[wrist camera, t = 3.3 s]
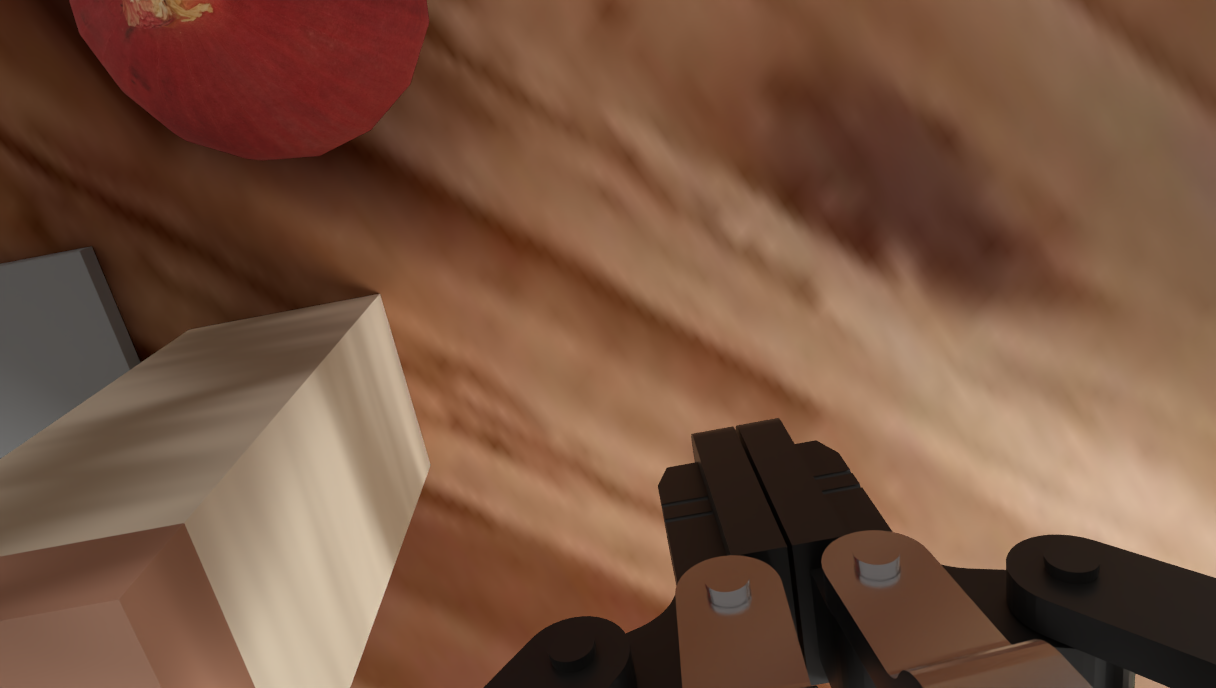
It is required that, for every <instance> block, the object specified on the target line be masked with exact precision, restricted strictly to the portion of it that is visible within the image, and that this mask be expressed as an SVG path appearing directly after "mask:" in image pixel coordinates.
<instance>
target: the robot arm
mask: <svg viewBox="0 0 1216 688" xmlns="http://www.w3.org/2000/svg"><path fill="white" fill-rule="evenodd" d="M691 438H692V446H693V453H694V459H695V463H690V464H685V465H679V466H674V467H668V468H667V469H666V471H665V473H664V475H663V477H662V479H661V481H660V483H659V485H658V489H659V495H660V500H661V506H662V511H663V517H664V522H665V528H666V533H667V539H668V544H669V550H670V555H671V560H672V566H673V571H674V576H675V581H676V586H677V587H676V592H675V596H674V599H673V600H672V602H671V604H670V605H669V606H668V608H667V609H666V610H665V611H664V612H663V613H662V614H661V615H659V616H658V617H657V618H655V619H654V620H652V621H651V622H649V623H647V624H646V625H644V626H642V627H640V628H637V629H635V630H633V631H630V632H628V633H626V634H625V632H624V631H623V630H622V629H621V628H620V627H619V626H618V625H616V624H615V623H613V622H611V621H609V620H607V619H603V618H599V617H591V616H582V617H574V618H569V619H565V620H562V621H559V622H557V623H554V624H552V625H550V626H548V627H546V628H545V629H543V630H542V631H540V632H539V633H538V634H536V635H535V636H534V637H533V638H532V639H531V640H530V641H529V642H528V643H527V644H526V645H525V646H524V647H523V648H522V649H521V650H520V651H519V652H518V653H517V654H516V655H515V656H514V657H513V658H512V659H511V660H510V661H509V662H508V663H507V664H506V665H505V666H504V667H503V668H502V669H501V670H500V671H499V672H498V673H497V674H496V675H495V677H494V678H493V679H492V680H491V681H490V682H489V683H488V684H487V685H486V686H485V687H484V688H818V687H817V686H812V685H817V684H823V683H830V686H831V688H1134V686H1135V673H1136V674H1138V675H1141V676H1143V677H1145V678H1148V679H1150V680H1153V681H1155V682H1158V683H1160V684H1163V685H1165V686H1167V687H1170V688H1216V578H1214V577H1210V576H1207V575H1204V574H1201V573H1197V572H1194V571H1191V570H1188V569H1185V568H1181V567H1178V566H1175V565H1172V564H1168V563H1165V562H1162V561H1159V560H1155V559H1152V558H1149V557H1146V556H1143V555H1139V554H1136V553H1133V552H1130V551H1126V550H1123V549H1120V548H1117V547H1113V546H1110V545H1107V544H1104V543H1101V542H1097V541H1094V540H1090V539H1087V538H1082V537H1077V536H1070V535H1043V536H1037V537H1032V538H1029V539H1026V540H1024V541H1022V542H1020V543H1018V544H1016V545H1015V546H1014V547H1013V548H1012V549H1011V550H1010V552H1009V553H1008V555H1007V559H1006V570H993V569H967V568H956V567H950V566H945V565H941V564H940V563H939V562H938V561H937V560H936V559H935V557H934V556H933V555H932V554H931V553H930V552H929V551H928V550H927V549H926V548H925V547H924V546H923V545H922V544H920V543H919V542H917V541H916V540H914V539H912V538H910V537H908V536H905V535H902V534H899V533H894V532H892V530H891V529H890V527H889V526H888V524H887V523H886V522H885V520H884V519H883V517H882V516H881V514H880V513H879V511H878V510H877V508H876V507H875V505H874V504H873V503H872V501H871V500H870V498H869V497H868V495H867V494H866V492H865V491H864V489H863V488H861V487H860V484H859V482H858V481H857V479H856V478H855V476H854V475H853V473H851V472H850V469H849V467H848V466H847V465H846V463H845V462H844V460H843V459H842V457H841V456H840V454H839V453H838V452H836V451H834V450H832V449H831V448H829V447H827V446H825V445H823V444H822V443H820V442H818V441H810V442H805V443H799V444H794V442H793V441H792V439H791V437H790V436H789V434H788V432H787V430H786V429H785V427H784V425H783V424H782V422H781V420H780V419H779V418H776V419H770V420H765V421H759V422H754V423H749V424H743V425H738V426H736V430H735V428H734V427H727V428H722V429H716V430H711V431H706V432H700V433H695V434H691Z"/></svg>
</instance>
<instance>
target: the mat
mask: <svg viewBox="0 0 1216 688" xmlns="http://www.w3.org/2000/svg"><path fill="white" fill-rule="evenodd" d="M138 364H140V360H139V358H138V356H137V353H136V351H135V348H134V346H133V344H132V341H131V339H130V336H129V334H128V332H127V329H126V327H125V325H124V322H123V320H122V317H121V315H120V313H119V310H118V308H117V305H116V303H115V301H114V298H113V296H112V294H111V291H110V289H109V286H108V284H107V282H106V279H105V277H104V274H103V272H102V270H101V267H100V265H99V263H98V260H97V258H96V255H95V253H94V251H93V248H92V246H91V247H86V248H80V249H75V250H70V251H65V252H59V253H54V254H49V255H44V256H39V257H33V258H28V259H23V260H18V261H13V262H7V263H2V264H0V459H1V458H2V457H4V456H5V455H7V454H8V453H10V452H11V451H13V450H14V449H16V448H17V447H18V446H20V445H21V444H23V443H24V442H26V441H27V440H29V439H30V438H32V437H33V436H34V435H36V434H37V433H39V432H40V431H42V430H43V429H45V428H46V427H48V426H49V425H51V424H52V423H53V422H55V421H56V420H58V419H59V418H61V417H62V416H64V415H65V414H67V413H68V412H70V411H71V410H72V409H74V408H75V407H77V406H78V405H80V404H81V403H83V402H84V401H86V400H87V399H88V398H90V397H91V396H93V395H94V394H96V393H97V392H99V391H100V390H102V389H103V388H105V387H106V386H107V385H109V384H110V383H112V382H113V381H115V380H116V379H118V378H119V377H121V376H122V375H123V374H125V373H126V372H128V371H129V370H131V369H132V368H134V367H135V366H137V365H138Z"/></svg>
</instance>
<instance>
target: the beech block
mask: <svg viewBox="0 0 1216 688" xmlns="http://www.w3.org/2000/svg"><path fill="white" fill-rule="evenodd" d="M429 468H430V462H429V458H428V455H427V451H426V448H425V445H424V441H423V438H422V435H421V431H420V428H419V424H418V421H417V418H416V414H415V411H414V407H413V404H412V401H411V397H410V394H409V391H408V387H407V384H406V380H405V377H404V374H403V370H402V367H401V363H400V360H399V357H398V353H397V350H396V347H395V343H394V340H393V336H392V333H391V330H390V326H389V323H388V319H387V316H386V313H385V309H384V306H383V303H382V299H381V296H380V294H375V295H370V296H365V297H360V298H354V299H349V300H344V301H338V302H333V303H328V304H322V305H317V306H312V307H307V308H301V309H296V310H291V311H285V312H280V313H275V314H269V315H264V316H259V317H253V318H248V319H243V320H238V321H232V322H227V323H222V324H216V325H211V326H206V327H200V328H195V329H190V330H188V331H186V332H185V333H183V334H182V335H180V336H179V337H177V338H176V339H175V340H173V341H172V342H170V343H169V344H167V345H166V346H164V347H163V348H161V349H160V350H159V351H157V352H156V353H154V354H153V355H151V356H150V357H148V358H147V359H145V360H144V361H142V362H141V363H140V364H138V365H137V366H135V367H134V368H132V369H131V370H129V371H128V372H126V373H125V374H123V375H122V376H121V377H119V378H118V379H116V380H115V381H113V382H112V383H110V384H109V385H107V386H106V387H105V388H103V389H102V390H100V391H99V392H97V393H96V394H94V395H93V396H91V397H90V398H88V399H87V400H86V401H84V402H83V403H81V404H80V405H78V406H77V407H75V408H74V409H72V410H71V411H70V412H68V413H67V414H65V415H64V416H62V417H61V418H59V419H58V420H56V421H55V422H53V423H52V424H51V425H49V426H48V427H46V428H45V429H43V430H42V431H40V432H39V433H37V434H36V435H34V436H33V437H32V438H30V439H29V440H27V441H26V442H24V443H23V444H21V445H20V446H18V447H17V448H16V449H14V450H13V451H11V452H10V453H8V454H7V455H5V456H4V457H2V458H1V459H0V688H350V687H351V684H352V681H353V678H354V675H355V673H356V670H357V667H358V664H359V662H360V659H361V656H362V653H363V651H364V648H365V645H366V642H367V639H368V637H369V634H370V631H371V628H372V626H373V623H374V620H375V617H376V615H377V612H378V609H379V606H380V604H381V601H382V598H383V595H384V592H385V590H386V587H387V584H388V581H389V579H390V576H391V573H392V570H393V568H394V565H395V562H396V559H397V556H398V554H399V551H400V548H401V545H402V543H403V540H404V537H405V534H406V532H407V529H408V526H409V523H410V521H411V518H412V515H413V512H414V509H415V507H416V504H417V501H418V498H419V496H420V493H421V490H422V487H423V485H424V482H425V479H426V476H427V473H428V471H429Z"/></svg>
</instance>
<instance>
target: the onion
mask: <svg viewBox="0 0 1216 688" xmlns="http://www.w3.org/2000/svg"><path fill="white" fill-rule="evenodd" d="M69 2H70V5H71V8H72V11H73V15H74V18H75V21H76V24H77V28H78V31H79V34H80V35H81V36H82V38H83V39H84V40H85V42H86V43H87V44H88V46H89V47H90V49H91V50H92V51H93V53H94V54H95V55H96V57H97V58H98V59H99V61H100V62H101V63H102V65H103V66H104V67H105V69H106V70H107V71H108V73H109V74H110V75H111V77H112V78H113V79H114V81H115V82H116V84H117V85H118V86H119V87H120V89H121V90H122V91H123V92H124V93H125V94H126V95H127V96H129V97H130V98H131V99H132V100H134V101H135V102H136V103H137V104H138V105H140V106H141V107H142V108H143V109H145V110H146V111H147V112H148V113H150V114H151V115H152V116H153V117H154V118H156V119H157V120H158V121H159V122H161V123H162V124H163V125H164V126H166V127H167V128H168V129H169V130H170V131H172V132H173V133H174V134H176V135H178V136H179V137H181V138H182V139H184V140H186V141H188V142H192V143H195V144H199V145H202V146H205V147H209V148H212V149H215V150H219V151H222V152H226V153H229V154H232V155H236V156H239V157H243V158H246V159H254V160H275V159H287V158H300V157H312V156H321V155H322V154H324V153H326V152H328V151H330V150H332V149H334V148H336V147H338V146H340V145H342V144H344V143H346V142H348V141H350V140H352V139H354V138H356V137H358V136H360V135H362V134H364V133H366V132H368V131H370V130H371V129H372V128H373V127H374V126H375V125H376V123H377V122H378V121H379V120H380V119H381V118H382V117H383V115H384V114H385V113H386V112H387V111H388V110H389V108H390V107H391V106H392V105H393V104H394V103H395V101H396V100H397V99H398V98H399V97H400V96H401V94H402V93H403V92H404V91H405V90H406V89H407V87H408V86H409V85H410V83H411V80H412V77H413V73H414V70H415V67H416V64H417V60H418V57H419V54H420V51H421V48H422V44H423V41H424V38H425V35H426V31H427V28H428V25H429V15H428V7H427V0H69Z"/></svg>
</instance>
